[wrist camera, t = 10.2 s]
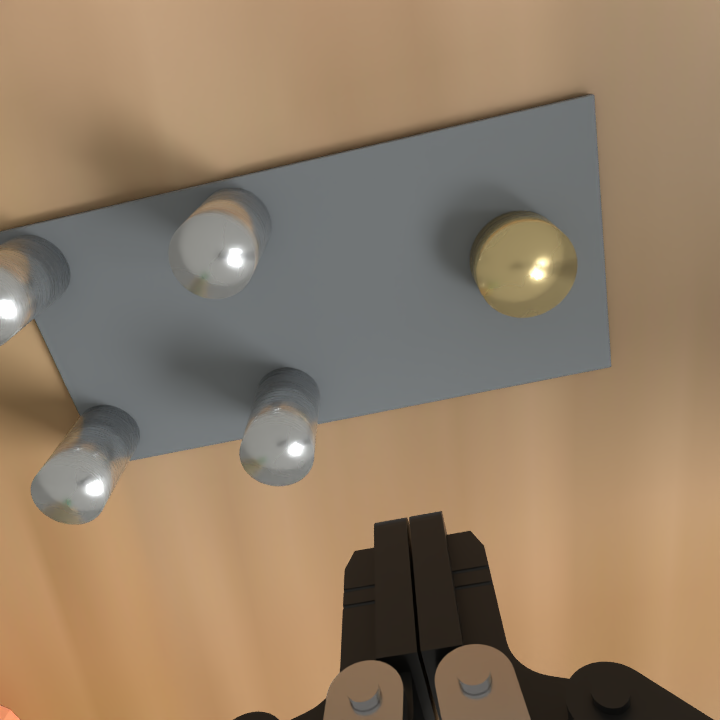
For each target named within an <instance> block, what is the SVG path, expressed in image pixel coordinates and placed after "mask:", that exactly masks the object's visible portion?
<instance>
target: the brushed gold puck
mask: <svg viewBox="0 0 720 720" xmlns="http://www.w3.org/2000/svg"><path fill="white" fill-rule="evenodd" d="M470 269H471V273H472V276H473V278H474V280H475V282H476V284H477V286H478V288H479V290H480V292H481V294H482V296H483V297H484V299H485V300H486V302H487V303H488V304H489V305H490V306H491V307H492V308H493V309H495V310H496V311H498V312H500V313H502V314H504V315H507V316H510V317H516V318H528V317H534V316H537V315H541V314H543V313H545V312H547V311H549V310H551V309H552V308H554V307H555V306H557V305H558V304H559V303H560V302H561V301H562V300H563V299H564V298H565V297H566V296H567V294H568V293H569V291H570V290H571V288H572V286H573V284H574V281H575V278H576V274H577V256H576V252H575V249H574V246H573V245H572V243H571V241H570V240H569V238H568V237H567V236H566V235H565V234H564V233H563V232H562V231H561V230H560V229H558V228H557V227H556V226H555V225H554V224H553V223H552V222H551V221H549V220H548V219H547V218H545V217H544V216H542V215H540V214H537V213H535V212H530V211H512V212H508V213H505V214H502V215H500V216H498V217H496V218H494V219H493V220H491V221H490V222H489V223H487V224H486V225H485V226H484V227H483V228H482V229H481V231H480V232H479V233H478V235H477V236H476V238H475V240H474V242H473V245H472V248H471V252H470Z"/></svg>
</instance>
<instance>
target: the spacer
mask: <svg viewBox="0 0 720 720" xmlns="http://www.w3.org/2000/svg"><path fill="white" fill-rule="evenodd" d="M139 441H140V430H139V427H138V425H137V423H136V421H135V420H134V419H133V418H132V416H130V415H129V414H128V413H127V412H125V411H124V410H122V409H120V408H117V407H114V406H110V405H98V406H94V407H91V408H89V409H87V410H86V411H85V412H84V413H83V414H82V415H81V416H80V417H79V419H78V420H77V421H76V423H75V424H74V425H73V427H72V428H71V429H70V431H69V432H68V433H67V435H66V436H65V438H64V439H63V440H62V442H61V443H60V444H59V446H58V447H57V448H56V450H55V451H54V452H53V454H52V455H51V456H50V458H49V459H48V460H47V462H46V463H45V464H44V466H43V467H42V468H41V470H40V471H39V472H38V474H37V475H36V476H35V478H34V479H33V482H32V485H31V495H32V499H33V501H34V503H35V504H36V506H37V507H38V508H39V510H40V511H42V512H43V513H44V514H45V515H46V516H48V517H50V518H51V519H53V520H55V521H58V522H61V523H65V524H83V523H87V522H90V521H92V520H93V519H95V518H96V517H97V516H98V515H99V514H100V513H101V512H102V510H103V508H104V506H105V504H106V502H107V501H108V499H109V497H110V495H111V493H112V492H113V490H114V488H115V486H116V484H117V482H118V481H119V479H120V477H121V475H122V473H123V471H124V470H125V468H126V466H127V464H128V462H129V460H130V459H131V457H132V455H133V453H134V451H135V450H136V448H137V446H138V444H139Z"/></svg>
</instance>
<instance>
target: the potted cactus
mask: <svg viewBox="0 0 720 720" xmlns="http://www.w3.org/2000/svg"><path fill="white" fill-rule="evenodd" d="M0 720H20V719H19V718H18V717H17V716H16V715H15V714H14V713H13V712H12V711H11V710H10V709H8V708H6V707H3V706H1V705H0Z"/></svg>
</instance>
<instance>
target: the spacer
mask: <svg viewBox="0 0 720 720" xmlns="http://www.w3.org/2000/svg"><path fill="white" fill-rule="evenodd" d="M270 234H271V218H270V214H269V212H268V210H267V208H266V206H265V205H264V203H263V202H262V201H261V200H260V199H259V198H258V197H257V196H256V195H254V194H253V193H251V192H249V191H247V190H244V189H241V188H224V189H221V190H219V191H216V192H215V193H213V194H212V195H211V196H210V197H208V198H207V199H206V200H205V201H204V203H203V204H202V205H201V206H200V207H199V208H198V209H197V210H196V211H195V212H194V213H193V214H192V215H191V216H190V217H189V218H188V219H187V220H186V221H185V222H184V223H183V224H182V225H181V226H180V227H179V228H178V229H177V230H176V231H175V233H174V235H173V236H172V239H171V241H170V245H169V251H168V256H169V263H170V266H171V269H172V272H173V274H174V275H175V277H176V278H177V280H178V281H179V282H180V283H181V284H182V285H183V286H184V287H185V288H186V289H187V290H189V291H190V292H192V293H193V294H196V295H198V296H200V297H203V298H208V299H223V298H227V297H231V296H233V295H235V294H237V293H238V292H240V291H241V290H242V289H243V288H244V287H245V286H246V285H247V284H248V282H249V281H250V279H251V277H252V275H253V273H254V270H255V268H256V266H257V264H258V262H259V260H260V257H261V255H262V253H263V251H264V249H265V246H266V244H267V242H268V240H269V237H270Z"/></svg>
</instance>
